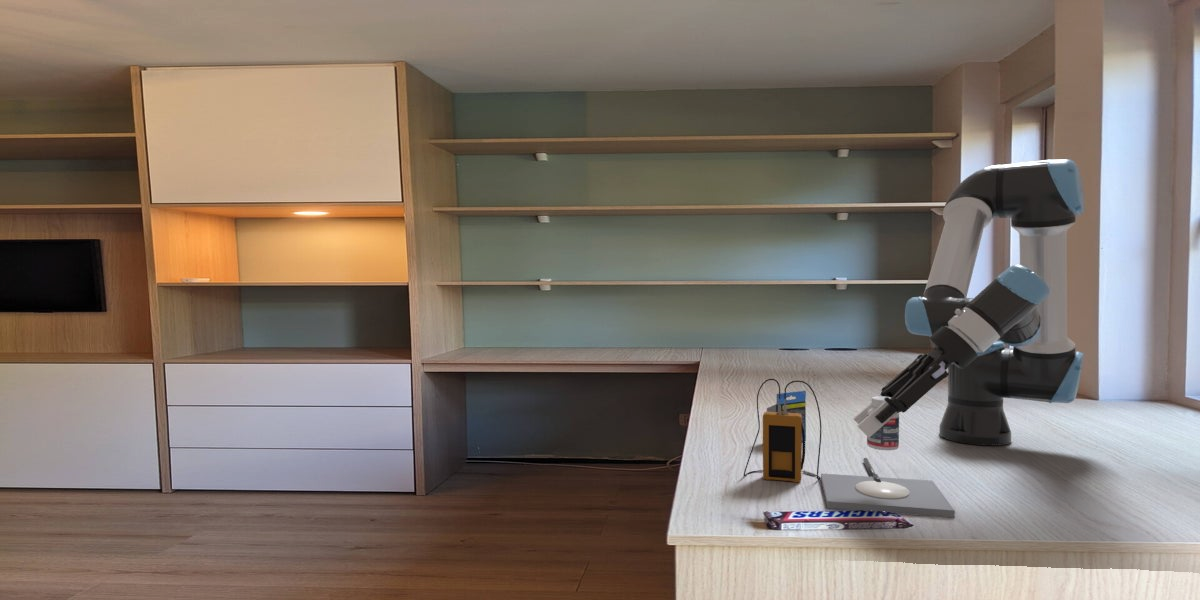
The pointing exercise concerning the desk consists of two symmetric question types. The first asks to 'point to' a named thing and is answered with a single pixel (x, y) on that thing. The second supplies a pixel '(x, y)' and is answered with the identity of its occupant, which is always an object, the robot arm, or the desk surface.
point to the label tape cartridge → (792, 405)
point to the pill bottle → (884, 430)
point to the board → (885, 494)
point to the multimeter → (783, 443)
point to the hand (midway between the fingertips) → (861, 427)
